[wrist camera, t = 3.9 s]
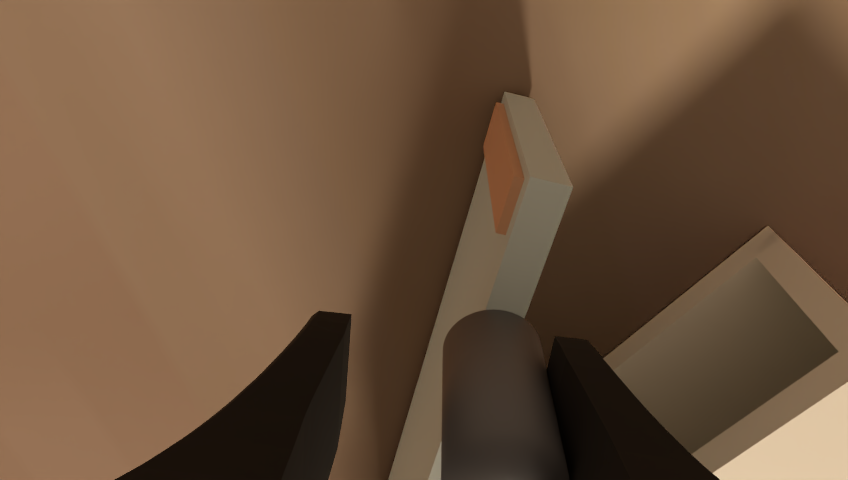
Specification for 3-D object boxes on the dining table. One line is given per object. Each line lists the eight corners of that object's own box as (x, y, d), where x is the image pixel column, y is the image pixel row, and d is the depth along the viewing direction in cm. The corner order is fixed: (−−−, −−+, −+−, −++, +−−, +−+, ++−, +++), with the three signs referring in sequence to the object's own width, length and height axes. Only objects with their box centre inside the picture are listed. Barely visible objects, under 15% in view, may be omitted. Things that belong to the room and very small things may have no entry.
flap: (417, 515, 24) (400, 847, 16) (363, 504, 24) (316, 834, 16) (556, 104, 17) (660, 296, 9) (482, 85, 17) (515, 263, 9)
